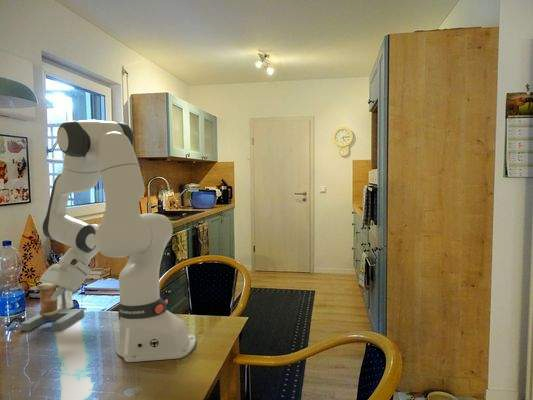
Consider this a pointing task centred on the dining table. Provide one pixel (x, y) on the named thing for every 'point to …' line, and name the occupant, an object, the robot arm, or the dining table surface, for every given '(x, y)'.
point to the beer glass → (65, 300)
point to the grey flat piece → (62, 317)
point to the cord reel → (47, 299)
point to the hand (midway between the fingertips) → (46, 298)
